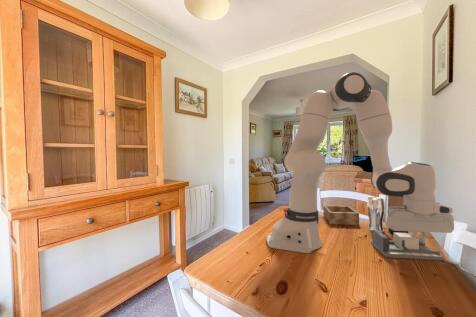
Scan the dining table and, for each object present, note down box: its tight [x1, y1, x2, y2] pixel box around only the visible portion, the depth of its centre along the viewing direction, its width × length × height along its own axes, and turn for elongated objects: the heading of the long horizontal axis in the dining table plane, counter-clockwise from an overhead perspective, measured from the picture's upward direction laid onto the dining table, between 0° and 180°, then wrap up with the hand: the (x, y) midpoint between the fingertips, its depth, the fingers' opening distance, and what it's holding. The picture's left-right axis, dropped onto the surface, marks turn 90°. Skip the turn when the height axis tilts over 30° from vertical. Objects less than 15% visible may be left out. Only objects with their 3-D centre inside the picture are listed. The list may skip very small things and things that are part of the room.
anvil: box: [372, 230, 390, 252], centre depth 77 cm, size 2×8×5 cm, turn 171°
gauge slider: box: [392, 232, 419, 251], centre depth 75 cm, size 5×8×4 cm, turn 170°
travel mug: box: [387, 195, 410, 235], centre depth 92 cm, size 8×8×20 cm
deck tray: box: [322, 205, 360, 226], centre depth 112 cm, size 14×14×6 cm
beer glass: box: [366, 196, 386, 233], centre depth 97 cm, size 7×7×15 cm
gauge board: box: [370, 239, 445, 261], centre depth 76 cm, size 18×11×2 cm, turn 80°
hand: (418, 242), depth 75 cm, fingers closed
